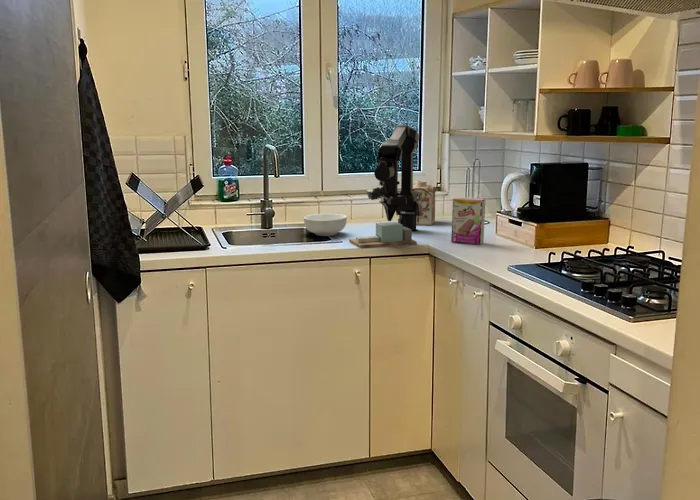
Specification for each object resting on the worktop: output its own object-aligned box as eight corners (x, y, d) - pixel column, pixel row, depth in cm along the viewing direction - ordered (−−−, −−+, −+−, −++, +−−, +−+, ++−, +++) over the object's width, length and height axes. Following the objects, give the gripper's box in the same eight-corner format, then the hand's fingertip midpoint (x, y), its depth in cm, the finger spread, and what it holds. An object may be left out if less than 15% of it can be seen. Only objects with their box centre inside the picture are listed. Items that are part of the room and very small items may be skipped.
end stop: (404, 237, 270) (404, 226, 269) (411, 240, 263) (411, 229, 262) (398, 237, 269) (398, 227, 268) (405, 240, 262) (405, 230, 262)
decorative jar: (435, 221, 312) (436, 180, 308) (432, 225, 301) (433, 182, 297) (408, 220, 314) (408, 179, 311) (404, 224, 303) (404, 182, 300)
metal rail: (406, 238, 268) (406, 234, 268) (409, 239, 265) (409, 235, 265) (355, 241, 262) (355, 237, 261) (358, 242, 259) (358, 238, 259)
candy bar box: (450, 242, 264) (452, 198, 261) (454, 240, 269) (456, 196, 266) (480, 245, 260) (482, 200, 256) (484, 242, 264) (485, 198, 261)
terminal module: (395, 237, 268) (396, 221, 267) (402, 240, 262) (402, 224, 261) (375, 239, 266) (375, 223, 265) (381, 242, 260) (382, 225, 259)
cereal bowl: (313, 229, 292) (313, 212, 290) (352, 231, 287) (352, 214, 285) (297, 236, 276) (297, 218, 275) (337, 239, 271) (337, 221, 269)
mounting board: (404, 238, 273) (404, 235, 272) (416, 244, 261) (416, 241, 261) (349, 241, 266) (349, 239, 266) (359, 248, 255) (359, 245, 254)
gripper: (360, 176, 266) (360, 218, 269) (377, 181, 248) (377, 226, 252) (388, 175, 269) (388, 216, 272) (407, 180, 252) (406, 224, 255)
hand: (389, 220), depth 263 cm, fingers closed
